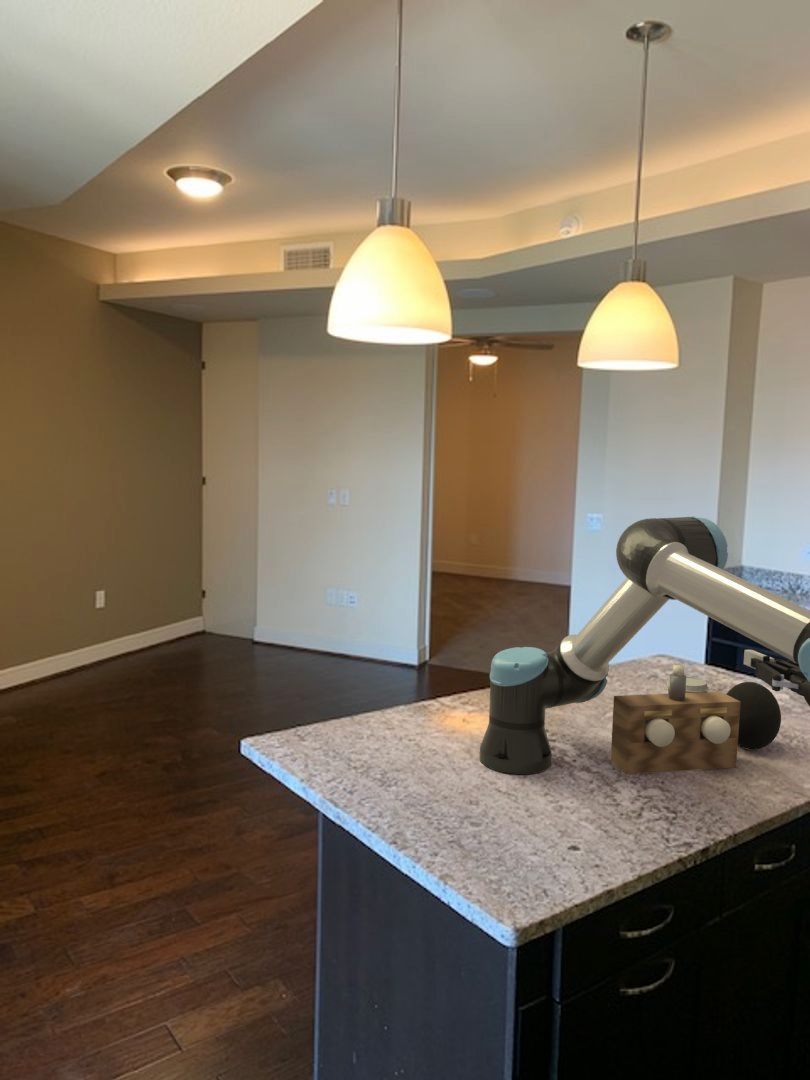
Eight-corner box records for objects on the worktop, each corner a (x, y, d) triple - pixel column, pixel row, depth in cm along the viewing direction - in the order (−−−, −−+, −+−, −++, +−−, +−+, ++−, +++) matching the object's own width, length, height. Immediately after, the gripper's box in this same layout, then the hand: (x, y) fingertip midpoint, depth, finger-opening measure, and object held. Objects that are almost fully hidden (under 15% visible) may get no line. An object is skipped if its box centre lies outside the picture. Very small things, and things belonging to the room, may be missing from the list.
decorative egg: (766, 762, 167) (771, 694, 165) (709, 747, 175) (714, 682, 174) (786, 748, 176) (791, 683, 174) (731, 734, 184) (735, 672, 182)
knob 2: (706, 744, 159) (708, 719, 158) (667, 719, 174) (668, 696, 173) (729, 743, 160) (731, 718, 159) (688, 718, 175) (690, 695, 174)
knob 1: (650, 747, 156) (651, 722, 156) (615, 721, 172) (616, 698, 171) (673, 746, 157) (675, 721, 157) (637, 720, 172) (638, 698, 172)
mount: (626, 774, 159) (630, 706, 157) (610, 760, 166) (613, 695, 164) (736, 768, 163) (741, 702, 162) (716, 754, 171) (720, 691, 169)
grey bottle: (673, 701, 161) (675, 668, 161) (665, 696, 164) (667, 664, 164) (687, 700, 162) (690, 667, 161) (679, 696, 165) (681, 663, 164)
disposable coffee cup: (698, 739, 180) (702, 688, 179) (658, 730, 186) (660, 681, 184) (711, 728, 187) (714, 680, 186) (671, 720, 193) (674, 673, 192)
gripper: (801, 720, 121) (714, 677, 144) (874, 717, 123) (777, 675, 147) (805, 673, 120) (717, 637, 143) (878, 670, 123) (780, 636, 146)
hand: (747, 656), depth 145 cm, fingers closed
